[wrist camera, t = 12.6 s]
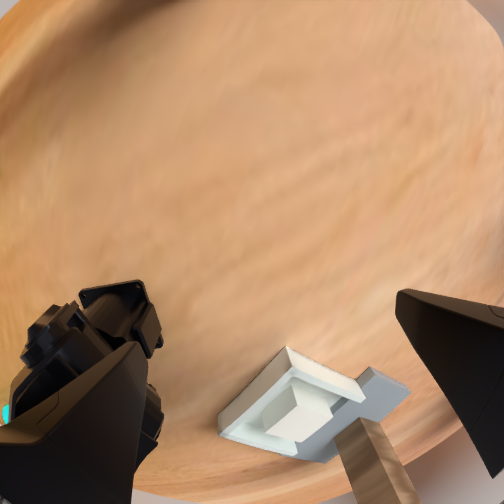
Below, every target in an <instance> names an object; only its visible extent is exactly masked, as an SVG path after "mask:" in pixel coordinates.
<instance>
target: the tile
mask: <svg viewBox="0 0 504 504" xmlns="http://www.w3.org/2000/svg"><path fill="white" fill-rule="evenodd" d="M261 413H262V420H263V426H264V432H265V433H267V434H270V435H274V436H277V437H281V438H284V439H288V440H292V441H296V442H300V443H301V442H303V441H304V440H305V439H307V438H308V437H309V436H311V435H312V434H313V433H314V432H316V431H317V430H318V429H320V428H321V427H322V426H323V425H324V424H326V423H327V422H328V421H329V420H331V419H332V418H333V415H332V413H331V410H330V408H329V405H328V403H327V401H326V398H324V397H322V396H319V395H316V394H314V393H311V392H309V391H306V390H304V389H301V388H299V387H296V386H294V385H292V384H291V385H290V386H289V387H288V388H287V389H286V390H285V391H284V392H283V393H282V394H281V395H280V396H278V397H277V398H276V399H275V400H274V401H273V402H272V403H271V404H270V405H269V406H268V407H266V408H265V409H264V410H263V411H262V412H261Z"/></svg>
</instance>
